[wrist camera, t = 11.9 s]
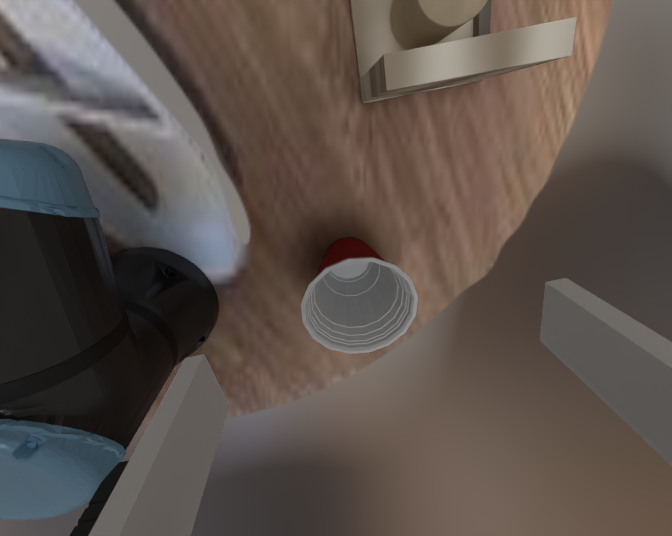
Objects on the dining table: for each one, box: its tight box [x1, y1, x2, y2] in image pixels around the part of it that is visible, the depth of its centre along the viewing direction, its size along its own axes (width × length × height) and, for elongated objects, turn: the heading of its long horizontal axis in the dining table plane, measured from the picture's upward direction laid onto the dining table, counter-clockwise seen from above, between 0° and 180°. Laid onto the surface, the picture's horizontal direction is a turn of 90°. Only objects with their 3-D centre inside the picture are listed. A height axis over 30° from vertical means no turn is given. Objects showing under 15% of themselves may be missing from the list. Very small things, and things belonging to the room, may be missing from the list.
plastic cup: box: [301, 238, 418, 354], centre depth 34 cm, size 11×11×12 cm
